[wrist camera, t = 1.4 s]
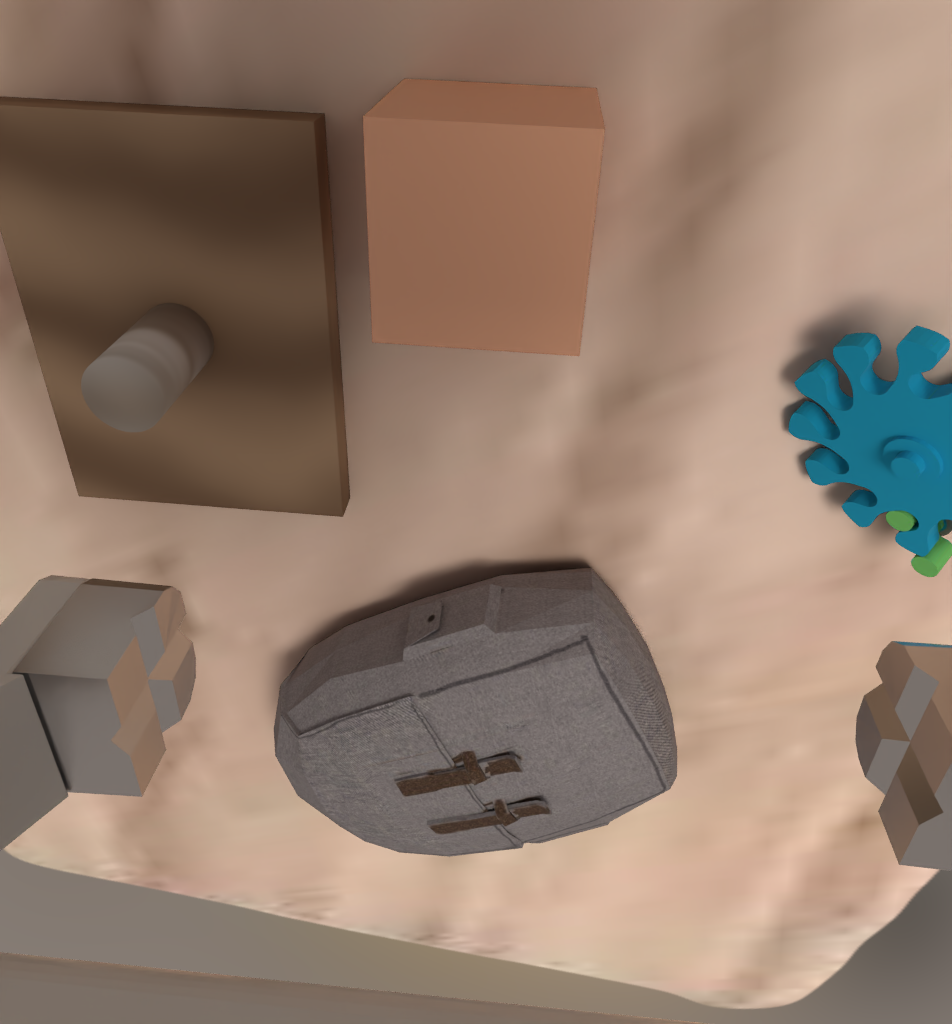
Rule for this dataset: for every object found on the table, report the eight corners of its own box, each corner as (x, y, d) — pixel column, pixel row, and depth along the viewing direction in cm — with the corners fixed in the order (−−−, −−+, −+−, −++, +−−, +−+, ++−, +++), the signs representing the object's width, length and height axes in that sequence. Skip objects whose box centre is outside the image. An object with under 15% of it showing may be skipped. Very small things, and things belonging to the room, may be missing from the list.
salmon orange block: (404, 78, 28) (362, 116, 22) (596, 88, 27) (605, 129, 22) (407, 267, 31) (372, 342, 26) (576, 277, 31) (579, 356, 25)
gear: (767, 325, 30) (1088, 388, 23) (856, 240, 32) (1175, 276, 25) (790, 536, 37) (1041, 634, 30) (862, 456, 39) (1112, 530, 32)
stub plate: (-12, 96, 29) (-141, 132, 24) (324, 113, 28) (269, 154, 23) (94, 478, 38) (18, 565, 33) (349, 497, 38) (314, 590, 32)
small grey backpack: (591, 507, 37) (235, 629, 43) (597, 636, 30) (174, 758, 37) (696, 720, 44) (378, 798, 51) (721, 863, 38) (349, 932, 44)
